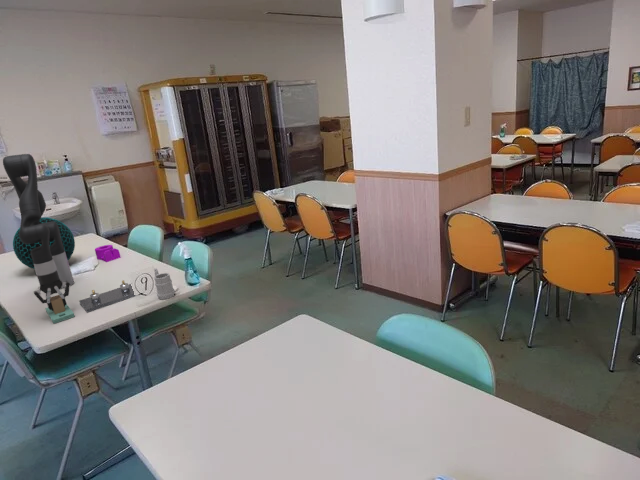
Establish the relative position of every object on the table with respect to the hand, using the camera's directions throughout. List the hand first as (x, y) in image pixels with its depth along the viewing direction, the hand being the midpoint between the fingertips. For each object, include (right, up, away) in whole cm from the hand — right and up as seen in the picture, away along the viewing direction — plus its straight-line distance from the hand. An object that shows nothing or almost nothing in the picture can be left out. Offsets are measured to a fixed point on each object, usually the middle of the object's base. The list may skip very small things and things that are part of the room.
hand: (58, 308), depth 193 cm
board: (0, -3, +1) cm, 3 cm away
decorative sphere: (-43, +13, +67) cm, 81 cm away
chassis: (+18, +3, +11) cm, 21 cm away
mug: (+43, +4, +8) cm, 44 cm away
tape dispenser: (-14, +18, +75) cm, 78 cm away
